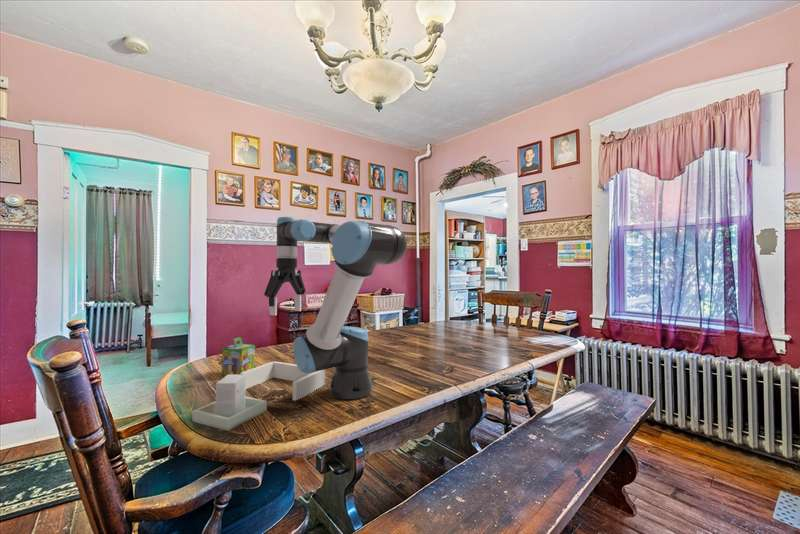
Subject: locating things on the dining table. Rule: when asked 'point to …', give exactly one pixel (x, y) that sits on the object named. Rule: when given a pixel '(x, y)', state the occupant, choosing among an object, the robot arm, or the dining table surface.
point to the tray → (210, 418)
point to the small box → (230, 395)
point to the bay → (286, 377)
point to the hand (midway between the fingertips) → (286, 313)
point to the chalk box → (237, 358)
